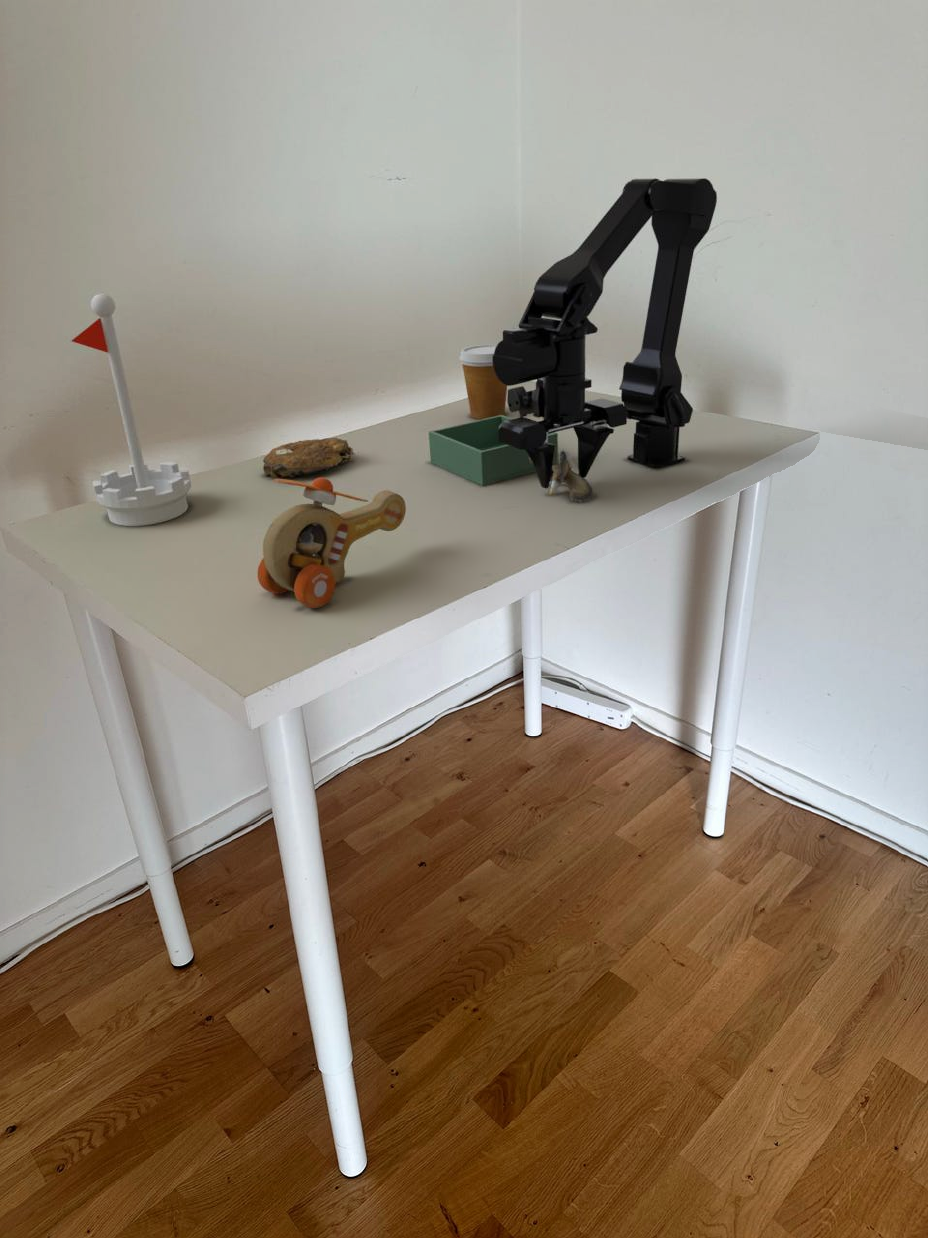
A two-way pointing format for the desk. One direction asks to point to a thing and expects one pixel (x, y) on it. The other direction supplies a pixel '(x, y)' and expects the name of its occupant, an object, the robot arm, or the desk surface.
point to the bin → (481, 451)
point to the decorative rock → (306, 457)
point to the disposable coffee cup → (483, 382)
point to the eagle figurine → (569, 479)
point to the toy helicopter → (320, 541)
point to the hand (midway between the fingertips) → (563, 482)
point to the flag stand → (132, 446)
